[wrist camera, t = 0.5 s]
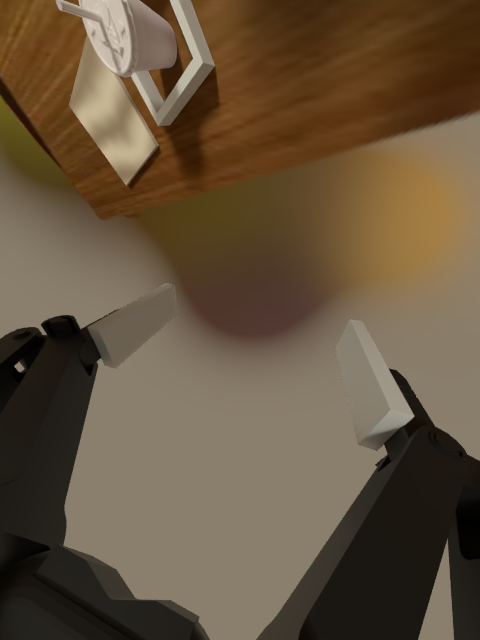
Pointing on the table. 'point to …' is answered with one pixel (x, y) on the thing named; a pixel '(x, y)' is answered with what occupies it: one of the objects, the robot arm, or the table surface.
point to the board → (111, 116)
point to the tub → (190, 78)
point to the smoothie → (126, 34)
